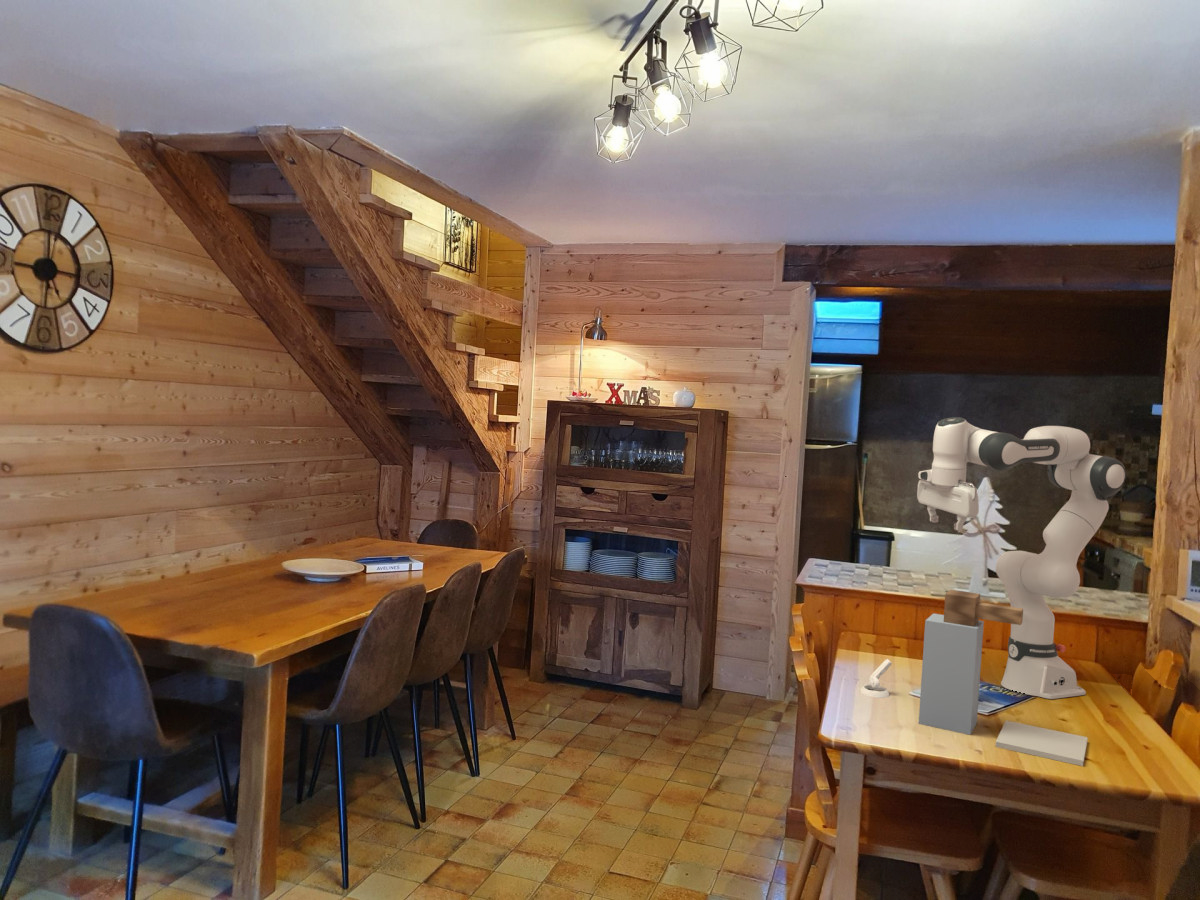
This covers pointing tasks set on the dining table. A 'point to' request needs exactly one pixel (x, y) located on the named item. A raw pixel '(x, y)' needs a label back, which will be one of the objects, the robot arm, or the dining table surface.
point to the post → (950, 675)
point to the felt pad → (1043, 742)
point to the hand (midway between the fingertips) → (945, 525)
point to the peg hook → (977, 610)
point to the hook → (877, 682)
